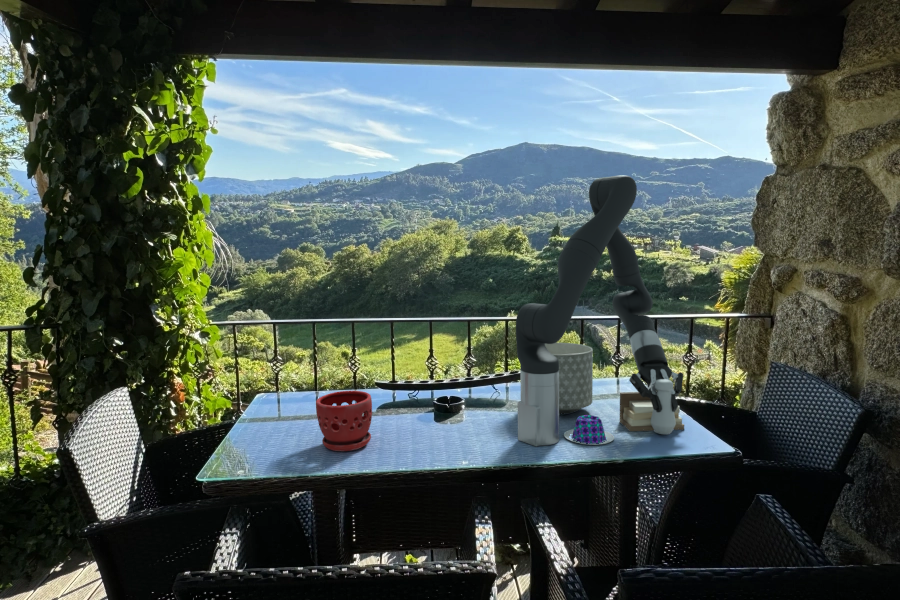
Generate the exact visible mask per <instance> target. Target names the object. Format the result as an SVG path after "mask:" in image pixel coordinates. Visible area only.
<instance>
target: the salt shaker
mask: <svg viewBox="0 0 900 600" xmlns="http://www.w3.org/2000/svg"><path fill="white" fill-rule="evenodd" d="M654 385H655V389H656V390H657V394H656V395H657V396H658V397H659V399H660V402H661V406H662V410H661V412H656V410H654V409H653V412H652V417H651V421H650V422H651V425H652V427H653V429H654V430H653V431H654V433H656V434H659V435H670V434H671V433H673V431H674V430H673V429H674V427H675V424H676V421H675V415H674V412H672V402H671V390H672V389H674V382H673V380H671V379H669V380H667V379H658V380H656V381H655V384H654Z"/></svg>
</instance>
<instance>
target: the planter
mask: <svg viewBox="0 0 900 600" xmlns="http://www.w3.org/2000/svg"><path fill="white" fill-rule="evenodd" d="M545 346H546V348H547V350H548V351H549V352H550V353H551V354H552V355H554V356H555V357H556V358H557V359H558V361H559V416H560V415H569V414H572V413H575V412H577V411H580V410H581V409H582V408H587V407H589V406H591V405H592V404H593V387H594V386H593V382H594V381H593V378H594V377H593V372H594V371H593V370H594V369H593V367H594V365H593V363H594V362H593V361H594V360H593V359H594V357H593V354H594V353H593V347H592V346H588V345H585V344H581V343H573V342H556V343H554V344H545Z"/></svg>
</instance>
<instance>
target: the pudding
mask: <svg viewBox="0 0 900 600" xmlns="http://www.w3.org/2000/svg"><path fill="white" fill-rule="evenodd" d="M575 420H576V421H575V424H574V428H572V429H569V430H566V431H565V432H564V434H563V437H564V438H565V439H567V440H568V441H571V442H573V443H577V444H581V445H587V444H586V443H588V445H591V446H592V445H593V446H594V445H596V446H597V445H605V444H609V443H610V442H613V441H614V440H615V436H614V434H612V433H611V432H609V431H606V430H605V429H604V425H603V421H602V419H601V418H600V417H599V416H595V415H591V414H590V415H588V414H585V415H579V416H578V417H577V418H576V419H575ZM570 434H573V435H572V439H573V438H574V439H573V440H575V441H573V440H572V439H570V438H569V436H570ZM606 437H607V441H606ZM576 440H577V441H579V442H576ZM604 440H605V442H604ZM602 441H603V443H602ZM580 442H581V443H580ZM600 442H601V443H600ZM589 443H593V444H589ZM596 443H599V444H596Z"/></svg>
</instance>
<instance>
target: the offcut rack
mask: <svg viewBox="0 0 900 600" xmlns="http://www.w3.org/2000/svg"><path fill="white" fill-rule="evenodd" d="M680 408H681V407H680V405H678V407H677V409H676V411H675V412H674V415H675V421H676V424H675V427H674V429H673V431H674V430H675V431H679V430H683V429H684V430H685V424H684V423H683V418H682V417H681V416H679V415H680V411H681V410H680ZM652 412H653V406H652V403H651V399H650V398H648V397H642V396H641V395H640V393H639V392H638V391H629V392H626V391H625V392H621V391H620V392H619V423H620V424H621V425H622V426H624V427H625V428H626V429H627V430H628V431H630V432H648V431H654V429H653V427H652V425H651V422H650V421H651V417H652ZM684 430H683V431H684Z"/></svg>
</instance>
